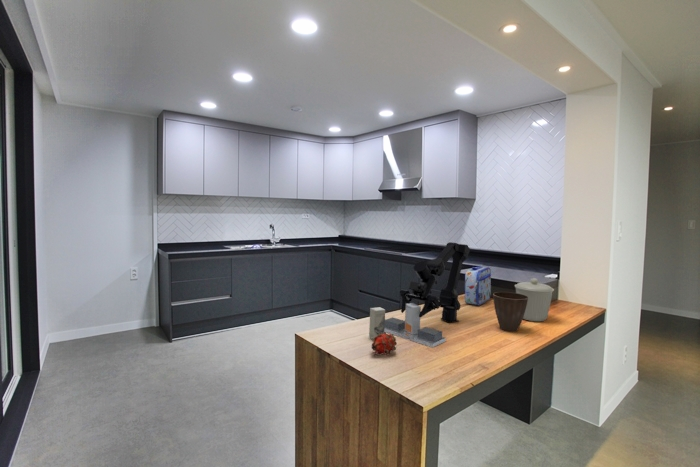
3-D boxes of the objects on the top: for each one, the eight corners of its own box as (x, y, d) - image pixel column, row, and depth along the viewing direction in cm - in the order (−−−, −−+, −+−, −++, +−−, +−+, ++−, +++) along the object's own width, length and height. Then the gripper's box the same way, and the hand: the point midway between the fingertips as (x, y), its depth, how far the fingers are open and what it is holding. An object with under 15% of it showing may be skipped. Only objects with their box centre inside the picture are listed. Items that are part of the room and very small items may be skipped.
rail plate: (393, 325, 168) (394, 316, 168) (445, 341, 149) (446, 330, 149) (380, 330, 161) (380, 320, 161) (432, 347, 142) (433, 336, 142)
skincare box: (404, 330, 157) (405, 303, 156) (412, 329, 159) (413, 302, 158) (411, 334, 152) (412, 307, 151) (420, 334, 153) (421, 306, 152)
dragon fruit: (397, 354, 139) (374, 366, 131) (383, 336, 143) (361, 347, 136) (405, 341, 134) (383, 353, 126) (391, 323, 138) (368, 334, 131)
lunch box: (479, 308, 201) (481, 269, 200) (461, 305, 207) (463, 267, 206) (492, 299, 224) (493, 264, 222) (475, 296, 230) (476, 262, 228)
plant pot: (484, 326, 170) (486, 293, 169) (505, 322, 177) (506, 290, 176) (512, 336, 157) (514, 300, 156) (533, 331, 164) (535, 297, 163)
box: (374, 341, 147) (374, 310, 147) (368, 337, 151) (369, 307, 150) (384, 339, 150) (385, 309, 149) (379, 336, 154) (380, 306, 153)
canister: (543, 326, 171) (546, 283, 170) (506, 317, 185) (508, 277, 184) (557, 319, 183) (560, 279, 182) (521, 311, 197) (523, 273, 196)
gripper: (401, 271, 163) (385, 299, 156) (437, 277, 150) (422, 308, 143) (411, 286, 169) (396, 313, 162) (446, 293, 156) (432, 323, 149)
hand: (410, 314), depth 154 cm, fingers open, 9 cm apart
